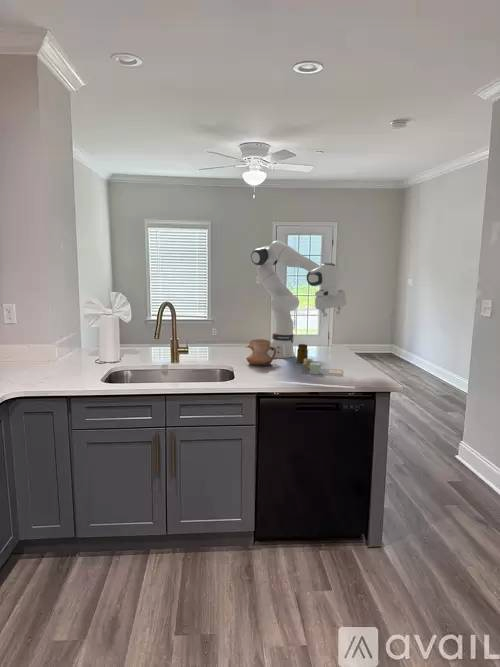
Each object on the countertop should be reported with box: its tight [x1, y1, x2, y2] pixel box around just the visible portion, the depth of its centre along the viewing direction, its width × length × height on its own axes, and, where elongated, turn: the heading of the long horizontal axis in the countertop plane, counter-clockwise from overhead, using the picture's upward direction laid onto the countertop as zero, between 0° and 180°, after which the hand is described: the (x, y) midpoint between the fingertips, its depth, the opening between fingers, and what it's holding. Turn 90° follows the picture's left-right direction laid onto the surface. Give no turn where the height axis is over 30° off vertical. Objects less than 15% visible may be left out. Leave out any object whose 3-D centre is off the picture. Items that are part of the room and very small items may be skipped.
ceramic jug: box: [245, 338, 276, 367], centre depth 250 cm, size 18×14×14 cm
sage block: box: [309, 362, 321, 375], centre depth 230 cm, size 5×5×5 cm
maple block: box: [302, 358, 314, 370], centre depth 240 cm, size 5×5×5 cm
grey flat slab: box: [300, 367, 344, 378], centre depth 234 cm, size 22×15×1 cm
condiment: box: [296, 343, 309, 365], centre depth 252 cm, size 7×8×12 cm
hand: (331, 315), depth 249 cm, fingers open, 8 cm apart
